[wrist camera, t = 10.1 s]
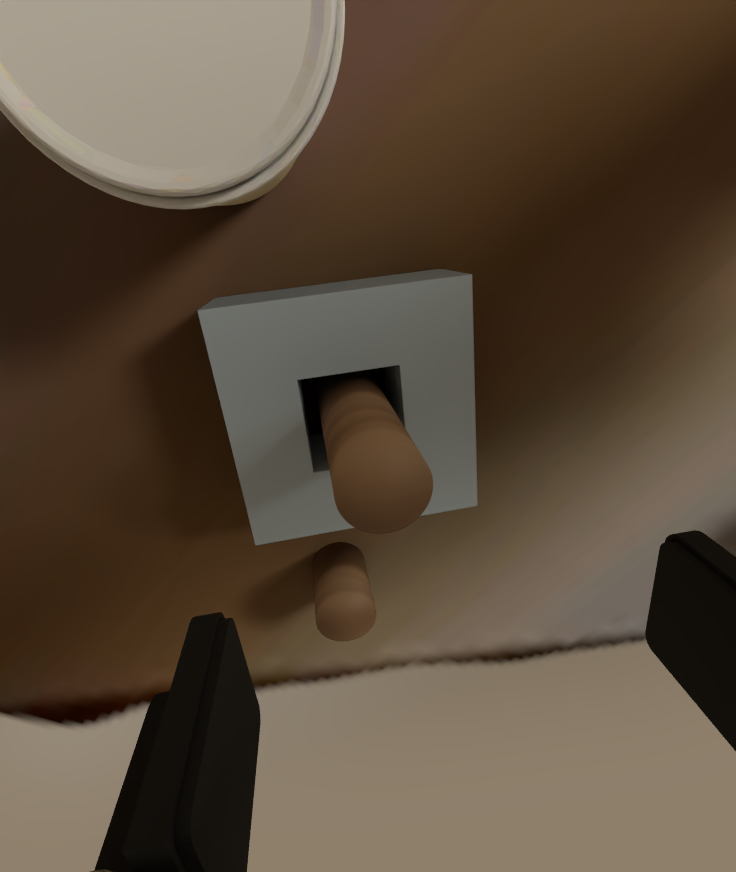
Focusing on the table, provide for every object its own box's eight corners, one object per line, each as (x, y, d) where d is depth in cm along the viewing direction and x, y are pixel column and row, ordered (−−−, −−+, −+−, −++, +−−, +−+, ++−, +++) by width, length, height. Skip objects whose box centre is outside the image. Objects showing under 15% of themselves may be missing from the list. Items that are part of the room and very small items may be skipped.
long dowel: (311, 366, 27) (326, 453, 16) (373, 357, 27) (430, 436, 16) (321, 423, 28) (341, 541, 17) (379, 414, 28) (435, 524, 17)
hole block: (215, 297, 24) (197, 310, 20) (439, 268, 26) (472, 274, 21) (261, 497, 29) (255, 545, 25) (449, 466, 30) (477, 505, 26)
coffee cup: (268, -58, 20) (237, -440, 9) (350, 181, 23) (401, 127, 12) (61, 28, 20) (-231, -243, 9) (175, 253, 23) (72, 262, 12)
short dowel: (308, 547, 31) (311, 599, 26) (361, 538, 31) (372, 588, 27) (316, 589, 32) (320, 646, 28) (366, 580, 33) (378, 634, 28)
